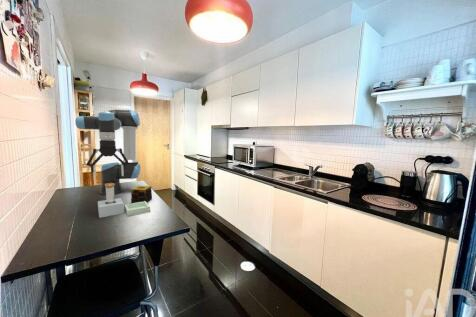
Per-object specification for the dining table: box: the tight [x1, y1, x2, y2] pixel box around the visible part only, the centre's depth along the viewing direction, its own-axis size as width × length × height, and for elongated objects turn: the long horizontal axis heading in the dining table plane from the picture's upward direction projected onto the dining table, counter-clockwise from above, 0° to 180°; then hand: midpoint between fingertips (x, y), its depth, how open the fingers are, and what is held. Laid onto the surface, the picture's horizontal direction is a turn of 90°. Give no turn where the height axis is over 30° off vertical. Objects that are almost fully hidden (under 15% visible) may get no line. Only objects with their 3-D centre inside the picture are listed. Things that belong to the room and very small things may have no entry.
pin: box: [105, 183, 115, 204], centre depth 118 cm, size 5×5×17 cm
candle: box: [130, 185, 153, 204], centre depth 138 cm, size 10×10×10 cm
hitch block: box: [97, 197, 125, 219], centre depth 118 cm, size 12×12×6 cm
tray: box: [124, 201, 151, 217], centre depth 122 cm, size 12×12×3 cm
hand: (109, 176), depth 116 cm, fingers open, 13 cm apart
